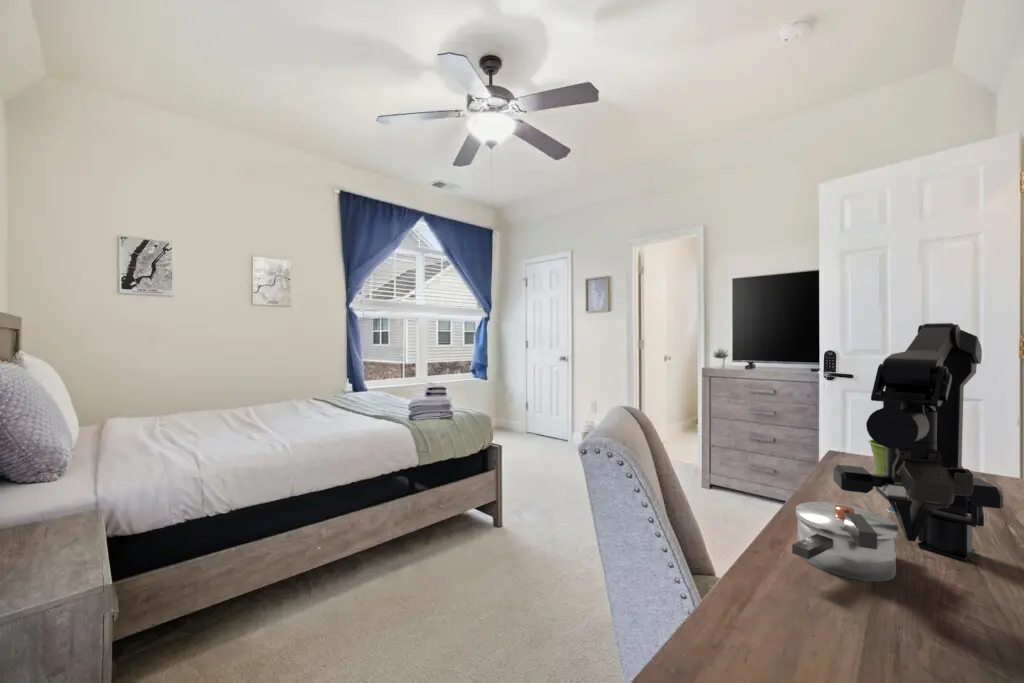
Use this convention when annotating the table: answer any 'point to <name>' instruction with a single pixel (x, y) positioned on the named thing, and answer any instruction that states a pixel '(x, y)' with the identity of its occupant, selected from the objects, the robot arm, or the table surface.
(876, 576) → the pressure cooker pot
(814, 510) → the cooker lid
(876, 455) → the plant pot
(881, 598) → the table surface
